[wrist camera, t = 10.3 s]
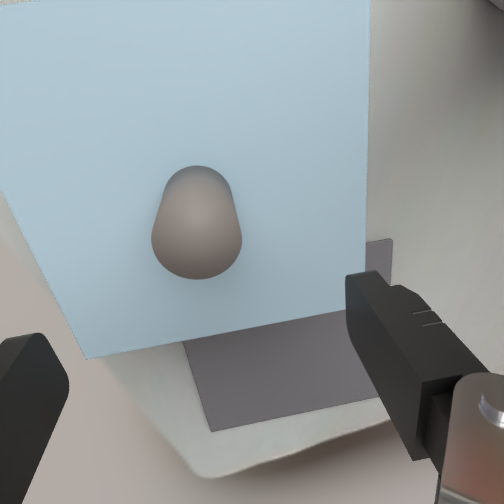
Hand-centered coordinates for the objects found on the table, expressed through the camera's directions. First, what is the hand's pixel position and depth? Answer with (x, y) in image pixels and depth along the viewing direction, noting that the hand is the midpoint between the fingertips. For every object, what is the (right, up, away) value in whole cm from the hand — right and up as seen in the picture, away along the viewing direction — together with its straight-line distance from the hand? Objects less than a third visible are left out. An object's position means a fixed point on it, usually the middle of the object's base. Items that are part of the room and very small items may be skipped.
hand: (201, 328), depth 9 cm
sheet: (-1, +5, +9) cm, 11 cm away
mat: (+5, -7, +26) cm, 27 cm away
